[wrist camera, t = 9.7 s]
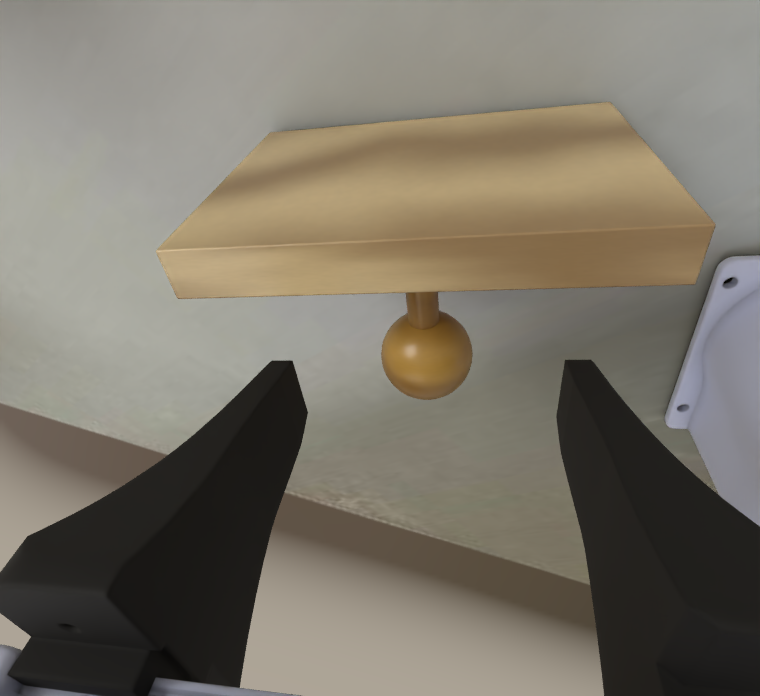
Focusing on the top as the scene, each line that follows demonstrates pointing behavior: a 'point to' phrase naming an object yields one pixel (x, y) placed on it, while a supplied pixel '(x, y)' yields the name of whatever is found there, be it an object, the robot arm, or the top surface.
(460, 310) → the top surface
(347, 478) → the top surface
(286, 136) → the wooden knob panel
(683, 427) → the robot arm
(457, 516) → the top surface
